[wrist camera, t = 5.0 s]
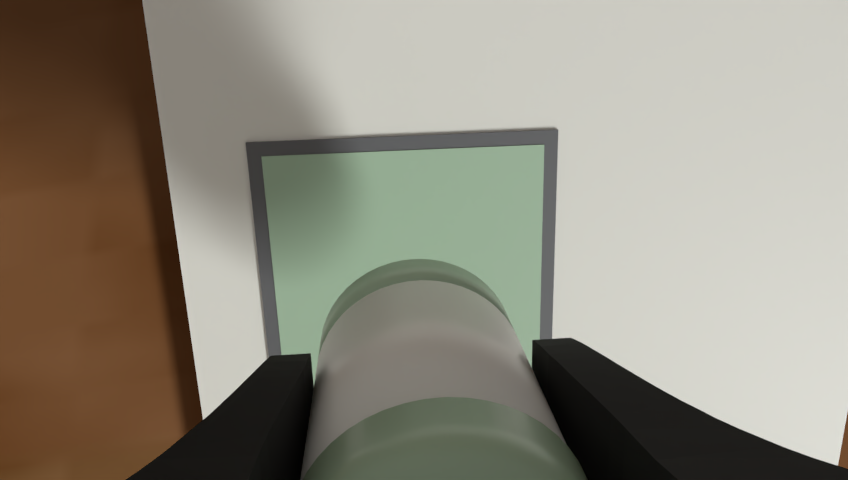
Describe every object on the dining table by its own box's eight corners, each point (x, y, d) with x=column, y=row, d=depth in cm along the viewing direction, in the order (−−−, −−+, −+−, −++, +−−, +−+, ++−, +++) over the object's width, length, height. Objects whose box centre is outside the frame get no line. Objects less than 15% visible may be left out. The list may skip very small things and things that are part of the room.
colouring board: (898, -62, 15) (981, -74, 13) (781, 645, 22) (825, 713, 19) (151, -43, 14) (113, -52, 12) (252, 691, 21) (239, 768, 19)
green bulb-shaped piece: (519, 254, 12) (656, 471, 6) (511, 431, 13) (619, 754, 7) (313, 257, 12) (260, 488, 6) (321, 438, 13) (283, 778, 7)
